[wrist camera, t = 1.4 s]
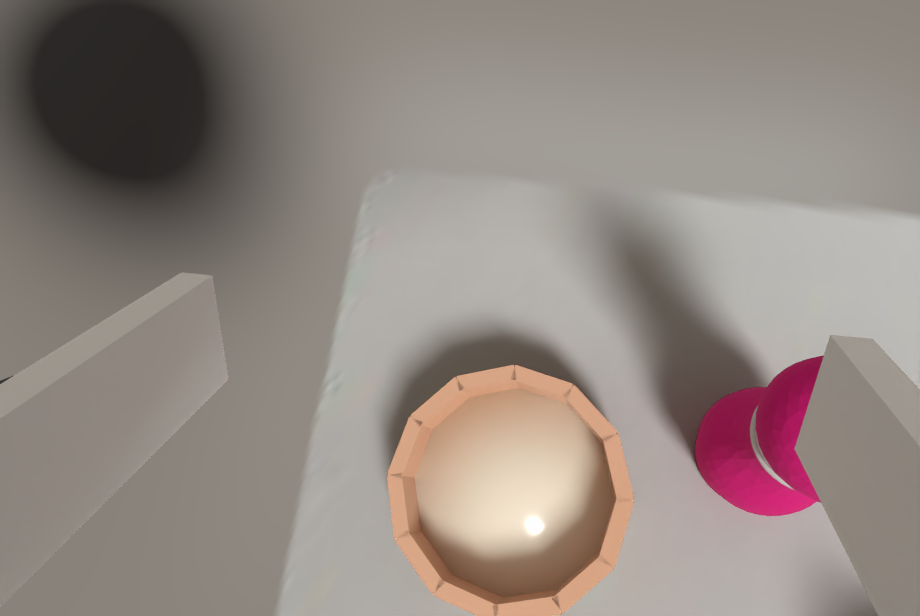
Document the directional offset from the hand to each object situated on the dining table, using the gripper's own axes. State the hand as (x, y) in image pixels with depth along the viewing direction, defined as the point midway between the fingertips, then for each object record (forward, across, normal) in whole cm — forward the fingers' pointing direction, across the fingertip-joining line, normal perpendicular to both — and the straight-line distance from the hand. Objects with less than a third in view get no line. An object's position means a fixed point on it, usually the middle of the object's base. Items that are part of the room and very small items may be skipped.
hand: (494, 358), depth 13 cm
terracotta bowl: (+21, 0, -22) cm, 31 cm away
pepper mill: (+23, +14, -18) cm, 33 cm away
